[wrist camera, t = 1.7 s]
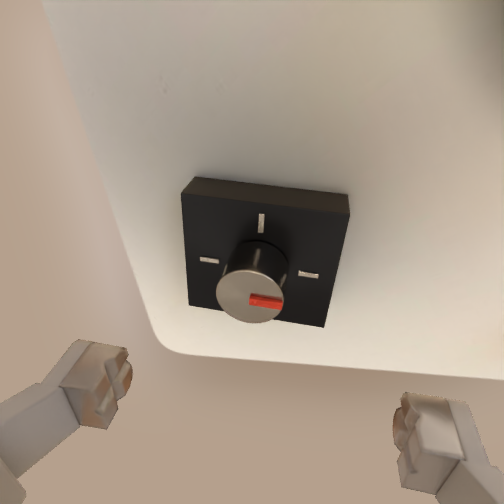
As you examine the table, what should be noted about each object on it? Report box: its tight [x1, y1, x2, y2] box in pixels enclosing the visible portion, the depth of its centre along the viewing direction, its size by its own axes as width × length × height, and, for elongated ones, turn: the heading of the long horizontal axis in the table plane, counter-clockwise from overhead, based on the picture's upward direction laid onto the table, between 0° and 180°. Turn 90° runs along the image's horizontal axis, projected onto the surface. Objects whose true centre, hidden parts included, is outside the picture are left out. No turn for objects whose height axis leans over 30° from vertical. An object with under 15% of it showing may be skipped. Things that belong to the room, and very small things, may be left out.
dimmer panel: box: [181, 177, 350, 328], centre depth 27 cm, size 11×10×3 cm
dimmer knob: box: [216, 241, 289, 323], centre depth 24 cm, size 4×4×4 cm
